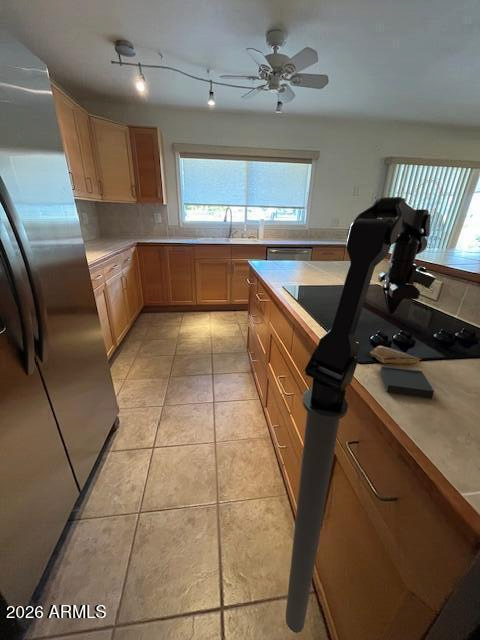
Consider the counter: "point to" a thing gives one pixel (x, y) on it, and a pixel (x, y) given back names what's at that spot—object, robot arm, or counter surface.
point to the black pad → (406, 382)
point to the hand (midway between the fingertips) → (390, 312)
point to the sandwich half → (392, 356)
